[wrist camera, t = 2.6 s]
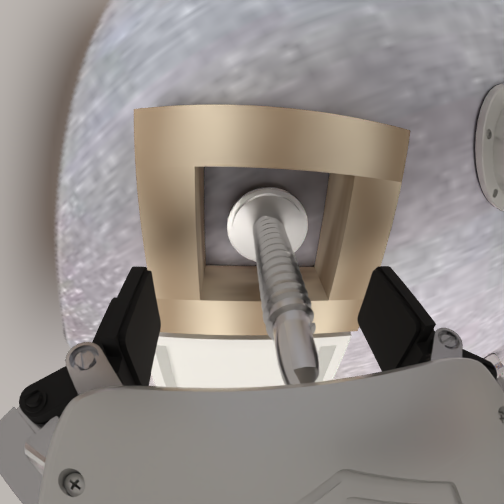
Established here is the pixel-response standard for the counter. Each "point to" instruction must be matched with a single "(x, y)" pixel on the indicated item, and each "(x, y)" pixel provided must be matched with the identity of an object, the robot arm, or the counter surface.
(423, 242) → the counter surface
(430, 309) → the counter surface
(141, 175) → the holder
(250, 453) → the robot arm
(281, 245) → the screw
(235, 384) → the tray
